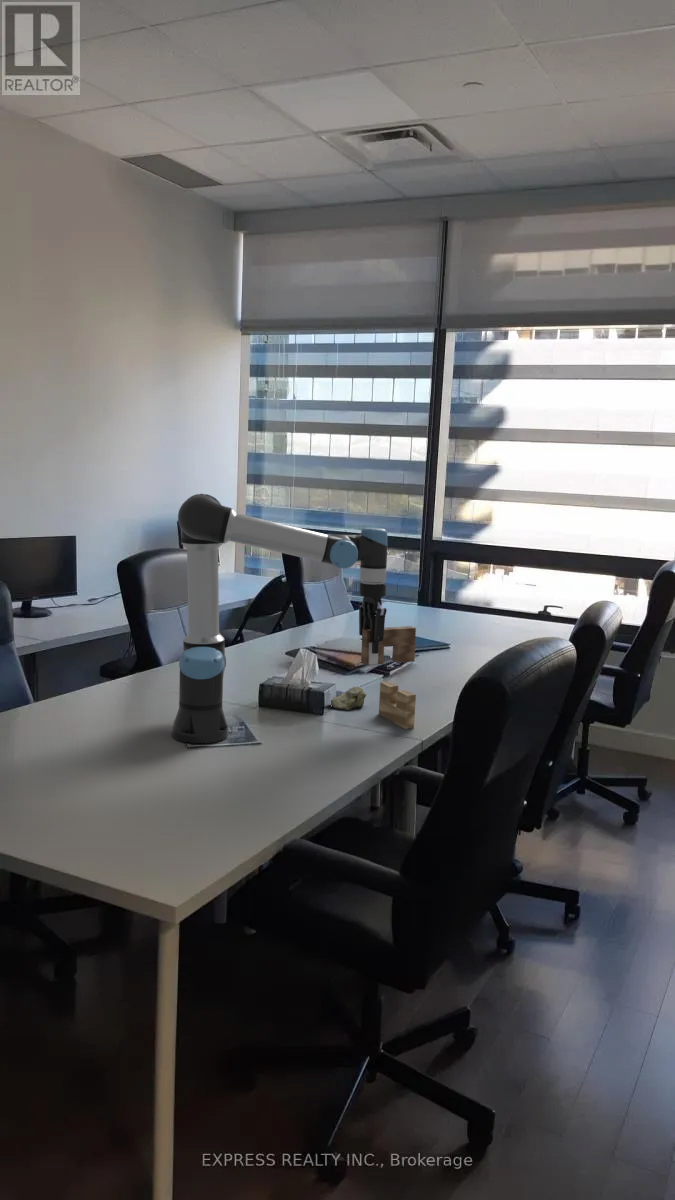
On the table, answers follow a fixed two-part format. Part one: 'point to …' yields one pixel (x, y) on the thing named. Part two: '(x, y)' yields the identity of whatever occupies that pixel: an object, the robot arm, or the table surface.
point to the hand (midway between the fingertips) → (370, 662)
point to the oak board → (397, 705)
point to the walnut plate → (392, 644)
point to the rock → (349, 699)
